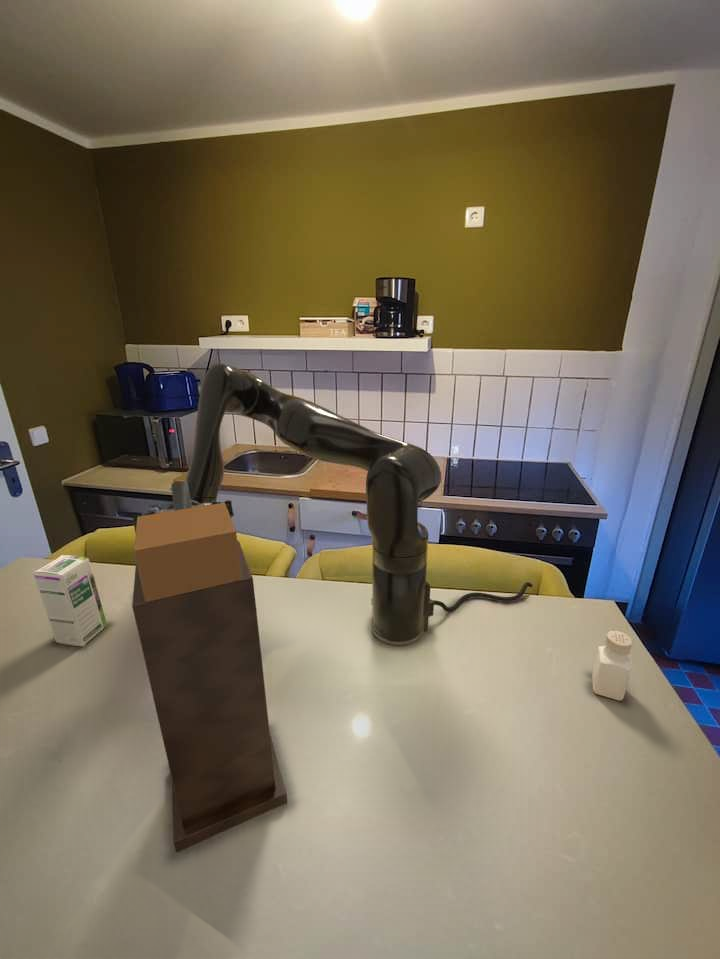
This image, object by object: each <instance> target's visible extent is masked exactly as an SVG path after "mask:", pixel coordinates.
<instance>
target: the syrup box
mask: <svg viewBox="0 0 720 959" xmlns="http://www.w3.org/2000/svg"><path fill="white" fill-rule="evenodd" d="M32 575H33V578H34V581H35V584H36V587H37V590H38V594H39V596H40V599H41V602H42V605H43V608H44V611H45V615H46V617H47V620H48V623H49V626H50V628H51V632H52V634H53V638H54V640H55V643H58V644H63V645H69V646H76V647H82V648H83V647H85V646H86V645H87V643H88V642H90V641H91V640H92V639H93V638H94V637H96V636H97V635H98V634H99V633H100V632H101V631H103V629H105V628H106V627H107V626H108V623H107V619H106V615H105V612H104V608H103V605H102V601H101V598H100V594H99V591H98V586H97V583H96V580H95V575H94V573H93V569H92V565H91V562H90V558H89V557H86V556H80V555H74V554H73V555H72V554H70V555H69V554H61V555H60V556H58V557H57V558H56V559H53V561H50V562H49V563H47V564H45V565H44V566H42V567H40V568H39V569H37V570H35V571H33V572H32Z"/></svg>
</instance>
